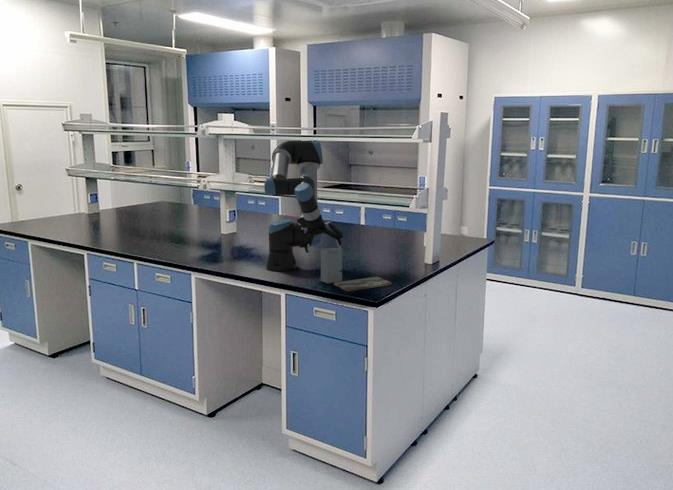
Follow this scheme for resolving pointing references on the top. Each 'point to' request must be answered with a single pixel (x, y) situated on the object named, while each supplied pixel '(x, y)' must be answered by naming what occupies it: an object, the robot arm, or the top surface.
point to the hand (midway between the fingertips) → (326, 253)
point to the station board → (362, 283)
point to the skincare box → (331, 265)
